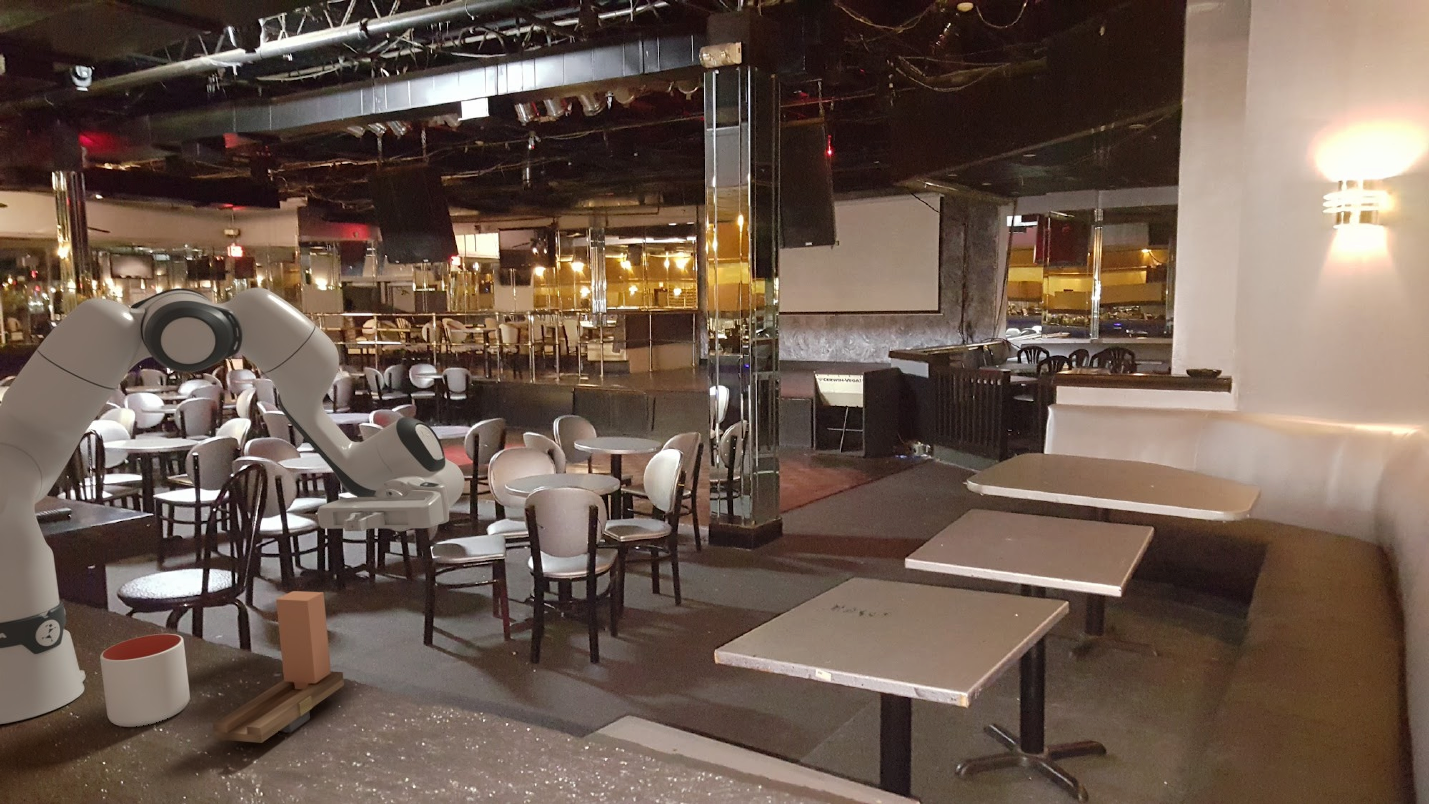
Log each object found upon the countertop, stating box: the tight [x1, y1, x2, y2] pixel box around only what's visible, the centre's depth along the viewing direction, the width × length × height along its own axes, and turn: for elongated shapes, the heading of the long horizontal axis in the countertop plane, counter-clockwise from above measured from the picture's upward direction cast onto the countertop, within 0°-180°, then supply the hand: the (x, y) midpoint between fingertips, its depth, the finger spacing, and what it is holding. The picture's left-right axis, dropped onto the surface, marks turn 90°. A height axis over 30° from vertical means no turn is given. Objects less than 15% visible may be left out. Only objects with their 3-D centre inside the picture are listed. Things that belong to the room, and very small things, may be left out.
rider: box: [275, 590, 332, 689], centre depth 129 cm, size 5×4×13 cm
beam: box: [212, 670, 345, 744], centre depth 124 cm, size 7×17×4 cm, turn 167°
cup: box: [99, 633, 191, 728], centre depth 129 cm, size 10×10×10 cm
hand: (352, 526), depth 140 cm, fingers closed
